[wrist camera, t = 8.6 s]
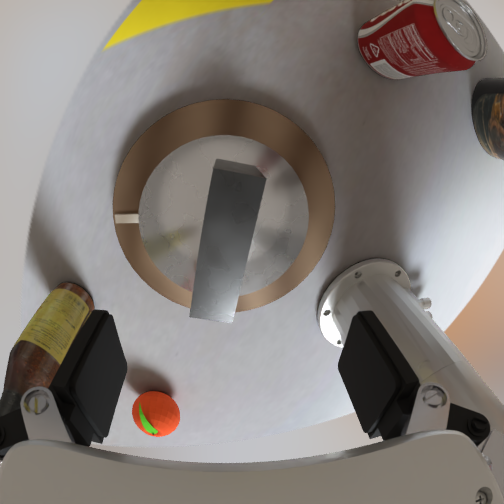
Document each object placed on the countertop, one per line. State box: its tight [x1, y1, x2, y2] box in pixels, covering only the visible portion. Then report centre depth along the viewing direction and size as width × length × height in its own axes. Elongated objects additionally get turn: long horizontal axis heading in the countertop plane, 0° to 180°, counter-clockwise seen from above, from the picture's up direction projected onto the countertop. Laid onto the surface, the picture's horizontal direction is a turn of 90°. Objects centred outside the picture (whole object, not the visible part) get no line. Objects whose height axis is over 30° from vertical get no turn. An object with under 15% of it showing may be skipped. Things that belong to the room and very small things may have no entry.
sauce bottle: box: [0, 282, 94, 417], centre depth 19 cm, size 7×6×20 cm
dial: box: [138, 135, 309, 323], centre depth 20 cm, size 14×14×7 cm
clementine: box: [132, 391, 180, 437], centre depth 32 cm, size 8×7×7 cm
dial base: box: [113, 99, 335, 312], centre depth 25 cm, size 20×20×2 cm
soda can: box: [357, 0, 487, 79], centre depth 15 cm, size 7×7×12 cm
